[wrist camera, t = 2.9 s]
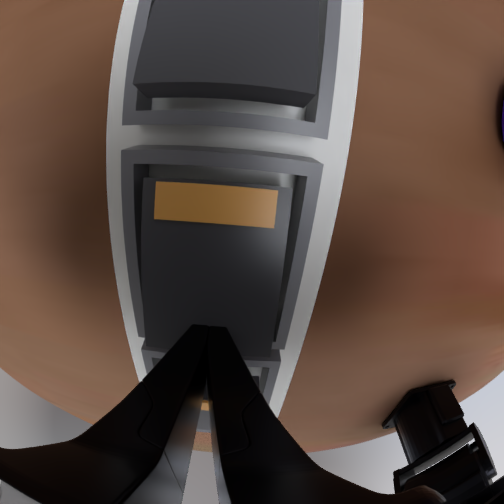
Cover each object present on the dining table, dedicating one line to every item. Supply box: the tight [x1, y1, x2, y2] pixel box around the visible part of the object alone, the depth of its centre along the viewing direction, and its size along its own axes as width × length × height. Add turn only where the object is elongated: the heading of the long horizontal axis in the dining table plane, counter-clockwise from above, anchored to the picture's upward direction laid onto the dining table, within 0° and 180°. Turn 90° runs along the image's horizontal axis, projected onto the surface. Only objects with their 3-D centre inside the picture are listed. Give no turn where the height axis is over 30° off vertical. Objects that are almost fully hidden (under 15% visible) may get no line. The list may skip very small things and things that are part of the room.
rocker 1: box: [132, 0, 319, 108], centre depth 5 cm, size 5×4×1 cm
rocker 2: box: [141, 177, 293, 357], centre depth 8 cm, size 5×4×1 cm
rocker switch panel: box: [106, 0, 363, 433], centre depth 10 cm, size 23×8×4 cm, turn 174°
